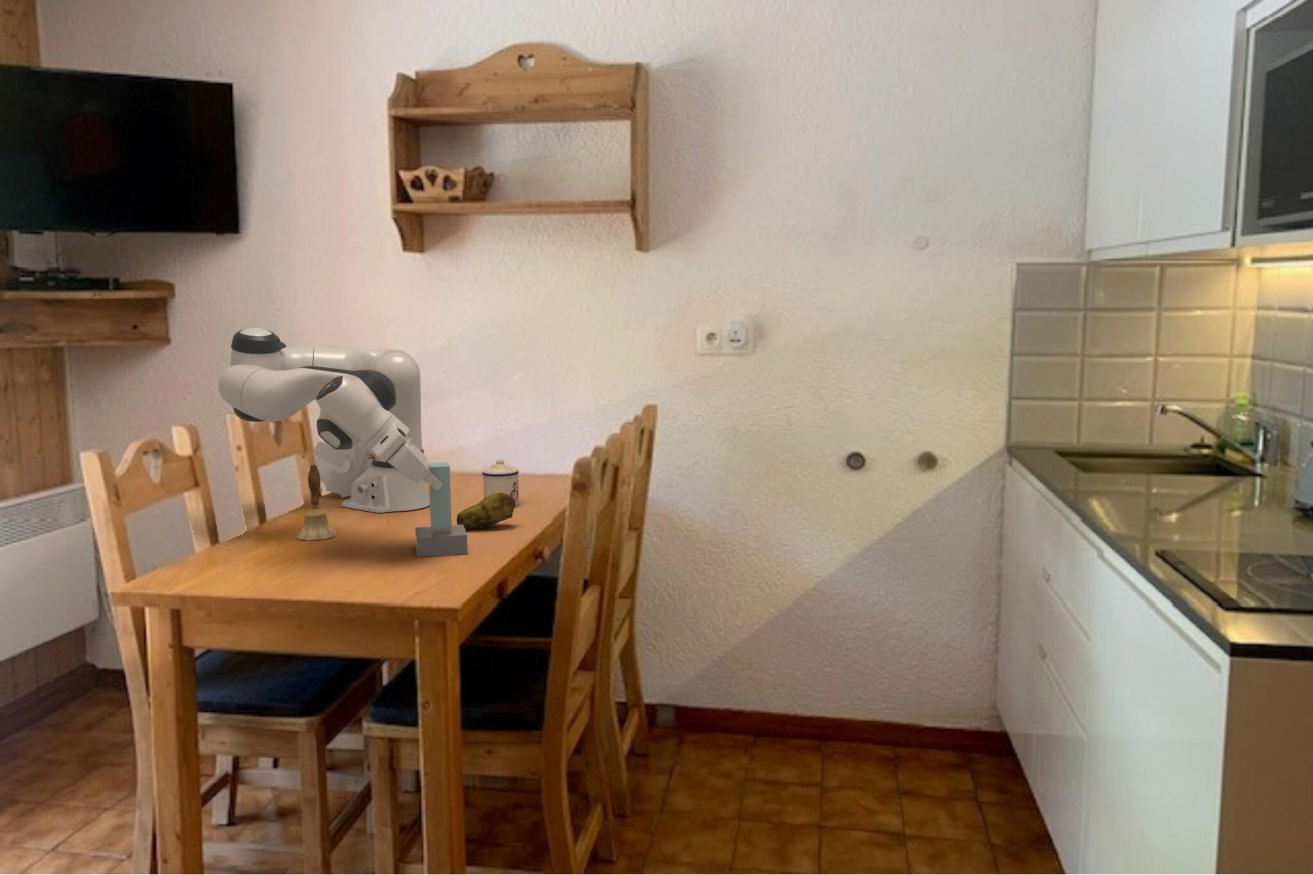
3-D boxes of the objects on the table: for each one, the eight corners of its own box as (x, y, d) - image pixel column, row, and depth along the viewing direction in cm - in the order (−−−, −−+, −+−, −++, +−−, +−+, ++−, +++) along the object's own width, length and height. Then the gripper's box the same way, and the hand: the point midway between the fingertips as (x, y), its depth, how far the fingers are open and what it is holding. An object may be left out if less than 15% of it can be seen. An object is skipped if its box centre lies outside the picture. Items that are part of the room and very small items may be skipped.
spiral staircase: (382, 497, 295) (360, 511, 271) (325, 471, 294) (297, 482, 269) (409, 438, 294) (389, 447, 269) (351, 412, 293) (326, 418, 268)
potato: (463, 524, 242) (462, 490, 240) (518, 524, 241) (517, 490, 240) (454, 532, 233) (453, 497, 232) (511, 532, 233) (510, 497, 231)
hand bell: (302, 532, 234) (298, 462, 232) (339, 531, 235) (336, 461, 233) (292, 541, 226) (288, 468, 224) (331, 540, 227) (328, 468, 224)
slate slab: (417, 557, 211) (416, 538, 210) (415, 546, 221) (415, 527, 220) (467, 553, 214) (466, 534, 213) (463, 542, 223) (463, 524, 223)
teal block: (431, 529, 214) (429, 467, 212) (430, 524, 218) (428, 463, 217) (451, 528, 215) (449, 466, 213) (450, 523, 219) (448, 462, 218)
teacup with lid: (518, 508, 258) (516, 462, 256) (481, 509, 258) (479, 463, 256) (522, 499, 270) (521, 455, 268) (486, 500, 269) (485, 455, 268)
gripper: (377, 443, 221) (426, 486, 225) (377, 458, 202) (430, 505, 205) (398, 422, 222) (446, 465, 225) (400, 434, 202) (453, 481, 206)
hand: (439, 484), depth 215 cm, fingers closed on teal block, 5 cm apart
